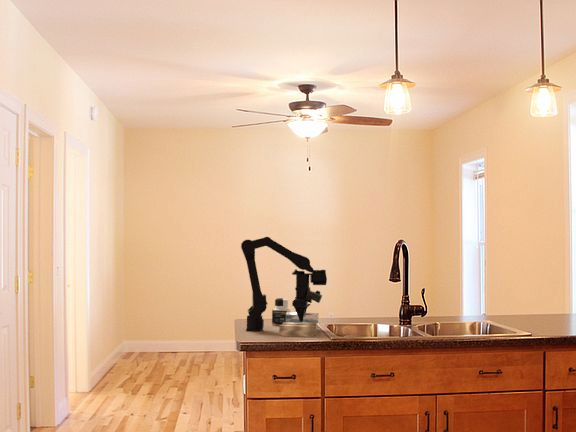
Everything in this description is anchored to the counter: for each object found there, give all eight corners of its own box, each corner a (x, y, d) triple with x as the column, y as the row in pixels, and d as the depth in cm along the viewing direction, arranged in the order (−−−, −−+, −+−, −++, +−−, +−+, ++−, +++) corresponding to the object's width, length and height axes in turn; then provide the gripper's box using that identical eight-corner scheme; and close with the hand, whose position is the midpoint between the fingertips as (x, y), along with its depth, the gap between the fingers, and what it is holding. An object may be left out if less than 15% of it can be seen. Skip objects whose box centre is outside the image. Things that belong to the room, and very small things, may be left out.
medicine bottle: (271, 325, 313) (272, 298, 313) (275, 323, 320) (276, 297, 320) (286, 325, 311) (287, 299, 312) (290, 323, 318) (290, 298, 319)
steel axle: (285, 322, 297) (285, 312, 297) (287, 321, 301) (287, 311, 301) (317, 324, 294) (317, 313, 294) (318, 322, 299) (318, 312, 299)
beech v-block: (279, 335, 281) (279, 325, 282) (283, 331, 292) (283, 322, 292) (313, 336, 279) (313, 326, 279) (316, 332, 290) (316, 323, 290)
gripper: (318, 287, 288) (318, 324, 287) (323, 284, 306) (322, 319, 306) (292, 286, 289) (291, 323, 289) (298, 283, 308) (298, 318, 307)
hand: (302, 321), depth 298 cm, fingers closed on steel axle, 4 cm apart
